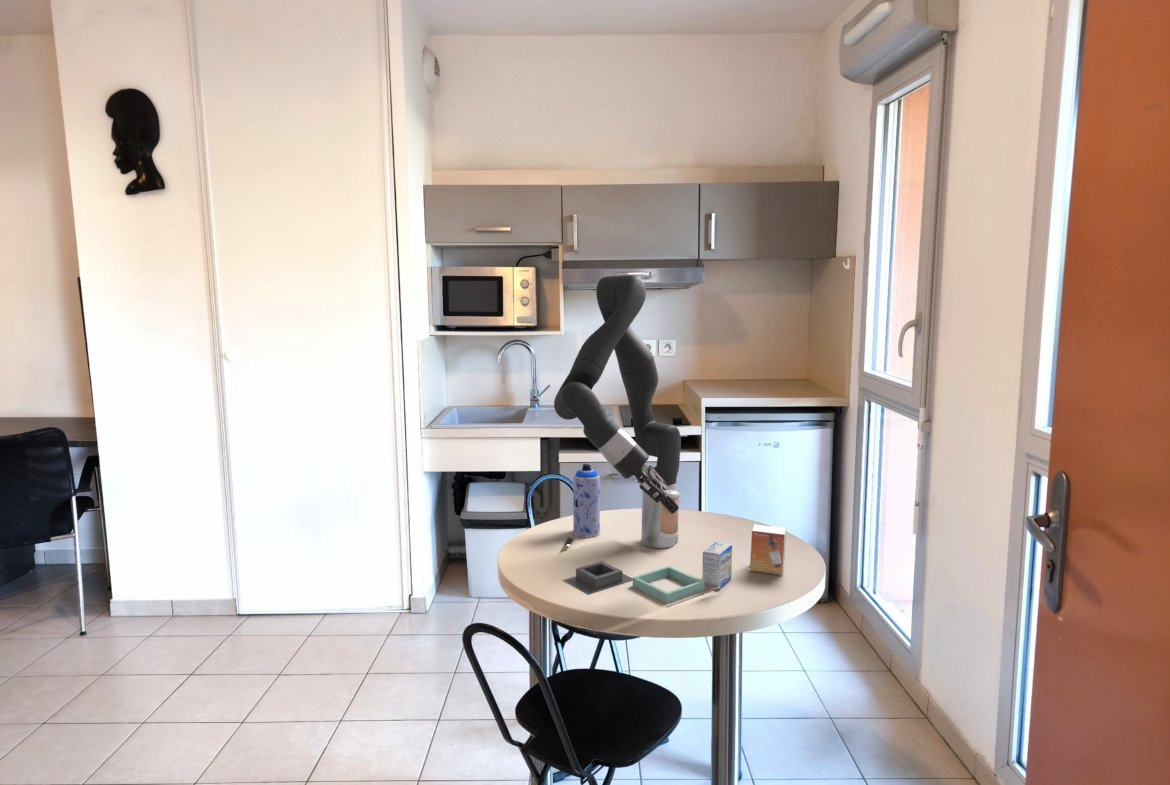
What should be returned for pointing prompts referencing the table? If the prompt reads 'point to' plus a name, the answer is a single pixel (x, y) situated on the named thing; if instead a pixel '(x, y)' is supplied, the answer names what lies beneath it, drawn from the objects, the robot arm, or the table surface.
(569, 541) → the claw hammer
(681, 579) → the parts tray
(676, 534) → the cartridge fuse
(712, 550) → the medicine box
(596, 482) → the aerosol can
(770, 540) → the small box
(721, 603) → the table surface
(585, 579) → the grey square socket stand
